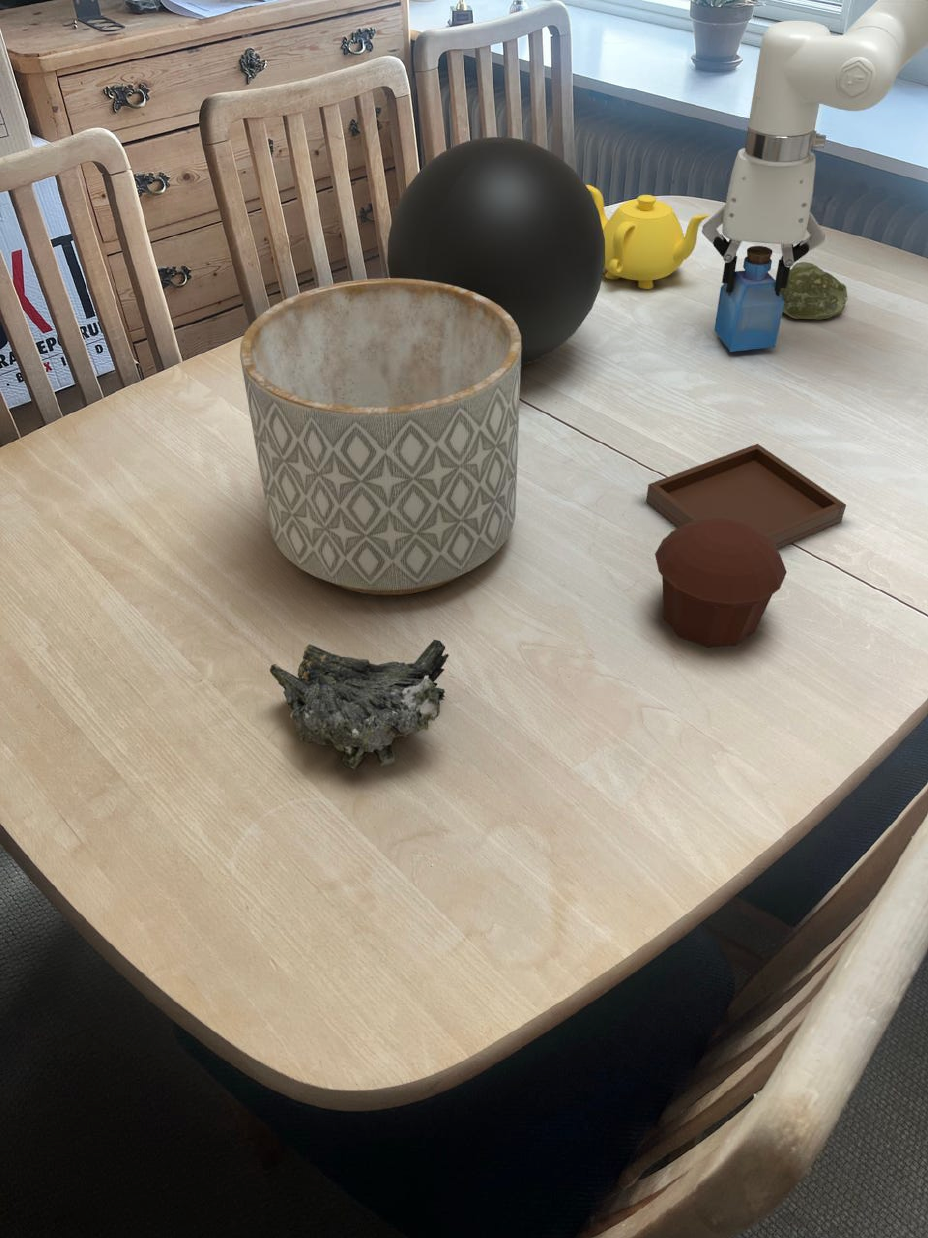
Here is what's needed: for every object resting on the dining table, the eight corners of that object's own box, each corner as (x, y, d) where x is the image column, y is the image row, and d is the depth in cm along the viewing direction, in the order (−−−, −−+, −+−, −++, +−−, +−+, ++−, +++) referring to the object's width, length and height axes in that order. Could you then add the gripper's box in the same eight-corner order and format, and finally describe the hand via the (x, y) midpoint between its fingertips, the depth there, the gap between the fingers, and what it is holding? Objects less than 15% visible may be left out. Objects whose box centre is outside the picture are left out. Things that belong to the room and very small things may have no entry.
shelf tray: (753, 460, 116) (757, 443, 115) (841, 522, 108) (846, 504, 106) (645, 501, 111) (648, 484, 109) (729, 570, 102) (732, 552, 100)
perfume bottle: (757, 325, 139) (773, 238, 130) (775, 346, 134) (793, 258, 126) (714, 330, 138) (727, 243, 130) (730, 351, 133) (745, 262, 125)
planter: (484, 451, 118) (485, 266, 103) (542, 592, 100) (555, 392, 85) (264, 479, 114) (232, 291, 99) (283, 631, 96) (248, 429, 81)
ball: (603, 317, 143) (622, 111, 124) (586, 417, 123) (606, 191, 105) (416, 303, 146) (408, 101, 128) (372, 399, 127) (354, 177, 108)
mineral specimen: (450, 613, 90) (412, 583, 80) (478, 754, 86) (443, 739, 77) (297, 656, 93) (244, 632, 84) (318, 793, 89) (265, 784, 80)
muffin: (772, 587, 100) (794, 505, 93) (771, 665, 92) (795, 582, 85) (651, 570, 102) (664, 489, 95) (640, 645, 94) (653, 562, 87)
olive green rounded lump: (794, 315, 139) (791, 243, 139) (763, 331, 146) (760, 263, 146) (856, 320, 142) (853, 249, 142) (823, 336, 149) (820, 269, 149)
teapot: (552, 276, 152) (556, 199, 145) (603, 243, 161) (609, 169, 153) (671, 312, 144) (682, 232, 136) (717, 275, 152) (731, 198, 145)
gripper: (853, 137, 120) (821, 283, 132) (707, 129, 124) (688, 273, 136) (855, 158, 115) (821, 309, 127) (702, 149, 118) (683, 297, 130)
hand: (753, 289), depth 131 cm, fingers closed on perfume bottle, 5 cm apart
